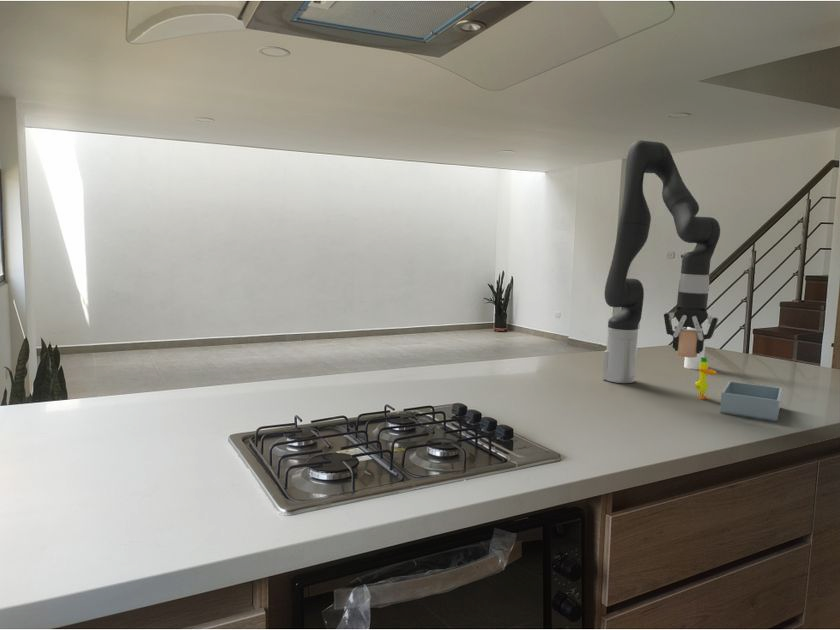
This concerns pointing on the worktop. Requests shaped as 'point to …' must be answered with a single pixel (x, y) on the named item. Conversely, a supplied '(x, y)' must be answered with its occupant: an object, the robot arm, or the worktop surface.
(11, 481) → the worktop surface
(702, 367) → the toy figure
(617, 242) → the robot arm
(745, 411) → the tote
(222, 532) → the worktop surface
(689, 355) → the brown egg
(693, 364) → the white spray bottle
